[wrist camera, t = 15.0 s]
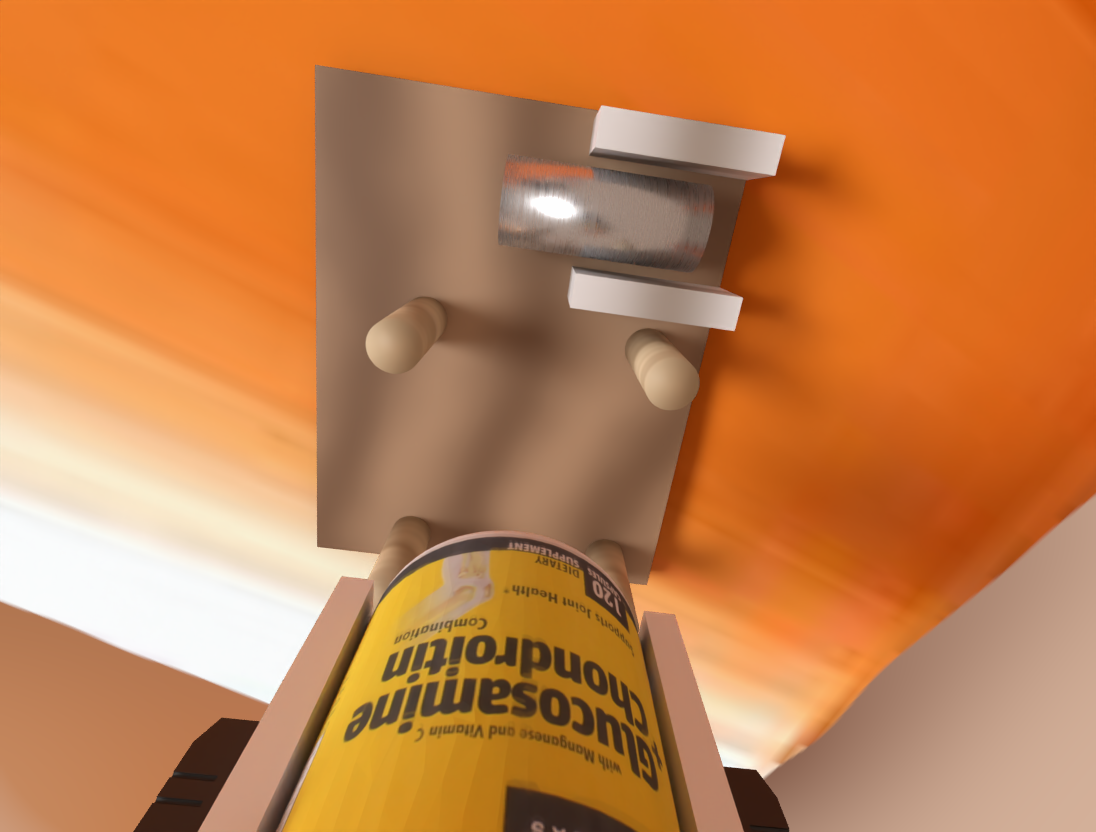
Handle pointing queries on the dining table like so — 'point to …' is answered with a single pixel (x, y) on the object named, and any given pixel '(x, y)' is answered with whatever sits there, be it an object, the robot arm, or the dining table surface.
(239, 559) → the dining table surface
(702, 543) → the dining table surface
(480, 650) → the pill bottle
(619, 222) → the pin
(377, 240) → the board
